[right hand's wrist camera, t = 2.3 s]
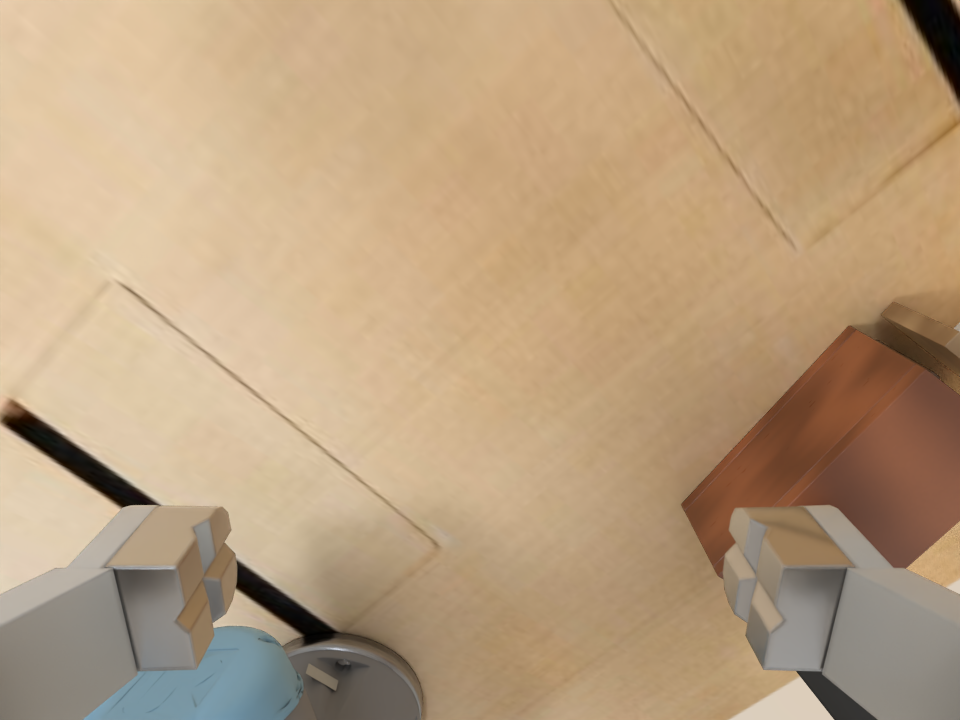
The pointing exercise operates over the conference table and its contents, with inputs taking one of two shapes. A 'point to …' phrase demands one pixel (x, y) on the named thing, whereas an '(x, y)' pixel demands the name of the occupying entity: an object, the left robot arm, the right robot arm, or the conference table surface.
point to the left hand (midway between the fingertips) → (857, 607)
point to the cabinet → (847, 454)
